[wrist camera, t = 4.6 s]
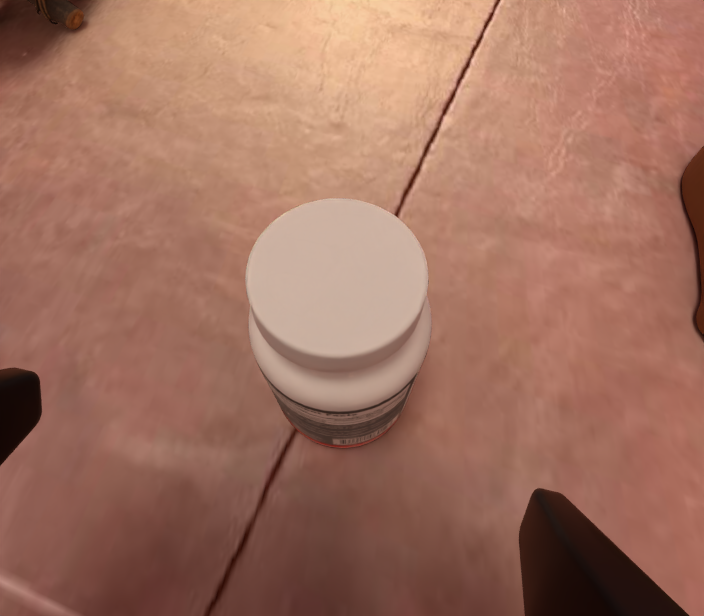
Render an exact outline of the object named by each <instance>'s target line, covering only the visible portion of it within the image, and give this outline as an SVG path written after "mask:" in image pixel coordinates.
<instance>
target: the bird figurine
mask: <svg viewBox="0 0 704 616" xmlns="http://www.w3.org/2000/svg"><path fill="white" fill-rule="evenodd" d="M27 1H29V2H30V3H32V4H33V5H35V6H36V9H37V13H38V14H39V11H41V12H42V13H43V15H44V16H45V17H46V18H47V20H48V21H50V22H51V23H53V24H58V23H54V22H52V21H51V20H54V21H57V22H59V23H61V24H63V25H64V26H66V27H67V28H69V29H71V30H74V29H77V28H78V27H79V26H80V25H81V23H82V21H83V18H84V14H83V12H82V11H81V10H80V9H79V8H77V7H76V6H74V5H73V4H71V3H70V2H69V1H67V0H27Z"/></svg>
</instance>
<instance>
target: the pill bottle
mask: <svg viewBox="0 0 704 616" xmlns="http://www.w3.org/2000/svg"><path fill="white" fill-rule="evenodd" d="M245 280H246V292H247V296H248V300H249V303H250V312H249V321H248V326H249V338H250V343H251V347H252V350H253V353H254V356H255V359H256V361H257V363H258V365H259V368H260V369H261V371H262V373H263V375H264V377H265V379H266V381H267V382H268V384H269V386H270V388H271V390H272V392H273V393H274V395H275V397H276V399H277V401H278V403H279V405H280V407H281V409H282V411H283V413H284V415H285V416H286V417H287V419H288V420H289V422H290V423H291V424H292V425H293V426H294V427H295V428H296V429H297V430H298V431H299V432H300V433H301V434H303V435H304V436H305V437H307V438H309V439H310V440H312V441H314V442H316V443H319V444H322V445H325V446H329V447H336V448H349V447H356V446H360V445H364V444H367V443H369V442H371V441H373V440H375V439H377V438H379V437H380V436H382V435H383V434H384V433H385V432H387V431H388V430H389V429H390V428H391V427H392V426H393V425H394V423H395V422H396V421H397V419H398V418H399V416H400V414H401V413H402V411H403V409H404V407H405V405H406V402H407V400H408V397H409V395H410V393H411V390H412V387H413V385H414V382H415V380H416V377H417V375H418V373H419V370H420V368H421V365H422V363H423V361H424V359H425V357H426V354H427V350H428V347H429V343H430V338H431V331H432V317H431V309H430V304H429V300H428V297H427V290H428V284H429V281H428V267H427V261H426V258H425V255H424V252H423V249H422V247H421V245H420V243H419V241H418V240H417V238H416V237H415V235H414V234H413V233H412V231H411V230H410V229H409V228H408V227H407V226H406V225H405V224H404V223H403V222H402V221H401V220H400V219H398V218H397V217H396V216H395V215H393V214H391V213H390V212H388V211H387V210H385V209H383V208H380V207H378V206H377V205H374V204H371V203H368V202H364V201H360V200H355V199H347V198H331V199H321V200H316V201H312V202H308V203H305V204H302V205H300V206H297V207H295V208H293V209H291V210H289V211H287V212H285V213H284V214H282V215H281V216H279V217H278V218H277V219H275V220H274V221H273V222H272V223H271V224H270V225H269V226H268V227H267V228H266V229H265V230H264V231H263V232H262V234H261V235H260V236H259V238H258V239H257V241H256V243H255V244H254V246H253V248H252V250H251V253H250V256H249V259H248V262H247V267H246V277H245Z"/></svg>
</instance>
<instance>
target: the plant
mask: <svg viewBox="0 0 704 616" xmlns="http://www.w3.org/2000/svg"><path fill="white" fill-rule="evenodd" d="M682 193H683V199H684V202H685V206H686V209H687V212H688V215H689V217H690V220H691V222H692V225H693V227H694V230H695V233H696V237H697V242H698V248H699V259H700V271H701V286H702V297H701V302H700V305H699V308H698V311H697V314H696V321H697V325H698V328H699V330H700V331H701V333H702V334H703V335H704V146H703V147H702V148H701V150H700V151H699V152H698V153H697V154H696V155H695V157H694V158H693V159H692V161H691V162H690V163H689V165H688V166H687V168H686V170H685V172H684V175H683V178H682Z"/></svg>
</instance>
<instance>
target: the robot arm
mask: <svg viewBox="0 0 704 616" xmlns="http://www.w3.org/2000/svg"><path fill="white" fill-rule="evenodd" d="M41 413H42V405H41V390H40V379H39V377H38V375H37V374H36V373H35V372H32V371H28V370H23V369H19V368H7V369H2V370H0V466H1V464H2V463H3V462H4V461H5V460H6V459H7V458H8V456H9V455H10V454H11V453H12V452H13V451H14V450H15V449H16V447H17V446H18V445H19V444H20V443H21V442H22V441H23V440H24V438H25V437H26V436H27V435H28V434H29V433H30V432H31V431H32V429H33V428H34V427H35V426H36V425H37V423H38V422H39V420H40V417H41ZM519 548H520V560H521V573H522V586H523V598H524V611H525V616H689V615H688V614H687V613H686V612H685V611H684V610H683V609H682V608H681V607H680V606H679V605H678V604H677V603H676V602H675V601H674V600H672V599H671V598H670V597H669V596H668V595H667V594H666V593H665V592H664V591H663V590H662V589H661V588H660V587H659V586H658V585H657V584H656V583H655V582H654V581H653V580H652V579H651V578H649V577H648V576H647V575H646V574H645V573H644V572H643V571H642V570H641V569H640V568H639V567H638V566H637V565H636V564H635V563H634V562H633V561H632V560H631V559H630V558H629V557H628V556H627V555H625V554H624V553H623V552H622V551H621V550H620V549H619V548H618V547H617V546H616V545H615V544H614V543H613V542H612V541H611V540H610V539H609V538H608V537H607V536H606V535H605V534H604V533H603V532H601V531H600V530H599V529H598V528H597V527H596V526H595V525H594V524H593V523H592V522H591V521H590V520H589V519H588V518H587V517H586V516H585V515H584V514H583V513H582V512H581V511H580V510H579V509H577V508H576V507H575V506H574V505H573V504H572V503H571V502H570V501H569V500H568V499H567V498H566V497H565V496H564V495H563V494H561V493H558V492H554V491H550V490H545V489H541V488H538V489H536V490H534V492H533V493H532V495H531V498H530V501H529V504H528V506H527V509H526V512H525V515H524V518H523V520H522V523H521V526H520V531H519Z"/></svg>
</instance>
